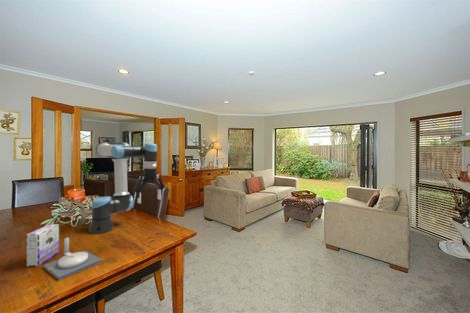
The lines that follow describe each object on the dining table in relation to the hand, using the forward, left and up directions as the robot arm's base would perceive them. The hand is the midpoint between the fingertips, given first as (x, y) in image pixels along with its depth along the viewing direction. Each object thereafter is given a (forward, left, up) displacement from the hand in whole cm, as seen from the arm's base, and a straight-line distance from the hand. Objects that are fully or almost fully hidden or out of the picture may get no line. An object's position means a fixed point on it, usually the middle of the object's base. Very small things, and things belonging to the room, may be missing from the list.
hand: (149, 201), depth 131 cm
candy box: (-28, -43, -27) cm, 58 cm away
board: (-9, -37, -27) cm, 47 cm away
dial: (-11, -37, -25) cm, 46 cm away
